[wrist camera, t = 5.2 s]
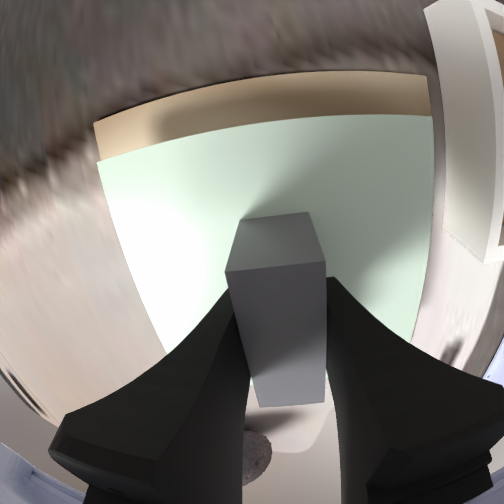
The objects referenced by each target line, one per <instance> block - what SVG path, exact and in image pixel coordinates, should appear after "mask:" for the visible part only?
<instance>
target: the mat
mask: <svg viewBox="0 0 504 504" xmlns="http://www.w3.org/2000/svg"><path fill="white" fill-rule="evenodd" d="M366 114H389V115H418V116H431V108H430V99H429V91H428V84H427V78H426V76H423V75H415V74H405V73H393V72H375V71H323V72H305V73H293V74H282V75H273V76H265V77H258V78H251V79H245V80H239V81H233V82H228V83H223V84H218V85H213V86H208V87H204V88H200V89H195V90H191V91H187V92H183V93H180V94H176V95H172V96H169V97H165V98H162V99H159V100H155V101H152V102H149V103H146V104H143V105H140V106H137V107H134V108H131V109H128V110H125V111H123V112H120V113H117V114H115V115H112V116H110V117H107V118H104V119H102V120H100V121H97V122H95V123H94V129H95V134H96V139H97V144H98V148H99V153H100V157H101V161H102V160H105V159H108V158H111V157H114V156H117V155H120V154H123V153H126V152H130V151H133V150H136V149H140V148H143V147H147V146H150V145H154V144H158V143H162V142H166V141H170V140H174V139H178V138H182V137H186V136H191V135H195V134H200V133H205V132H209V131H214V130H220V129H225V128H231V127H236V126H243V125H249V124H255V123H262V122H270V121H278V120H287V119H296V118H307V117H320V116H336V115H366ZM423 285H424V284H423ZM419 305H420V304H419ZM418 310H419V309H418ZM417 314H418V313H417ZM416 319H417V317H416ZM415 323H416V322H415ZM414 327H415V326H414ZM413 331H414V330H413ZM412 335H413V333H412ZM411 339H412V337H411ZM410 342H411V341H410Z"/></svg>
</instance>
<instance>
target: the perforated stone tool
mask: <svg viewBox="0 0 504 504" xmlns="http://www.w3.org/2000/svg"><path fill="white" fill-rule="evenodd" d="M271 455H272V448H271V443H270V441H269V440H268V439H267V438H266V436H263V435H262V434H260V433H258V432H255V431H248V430H244V440H243V470H242V486H244V485H247V484H248V483H250V482H252V481H254V480H255V479H256V478H258V477H259V476H260V475H261V474H262V473H263V472H264V471H265V470H266V468H267V466H268V465H269V463H270V461H271Z"/></svg>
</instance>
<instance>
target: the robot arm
mask: <svg viewBox="0 0 504 504" xmlns="http://www.w3.org/2000/svg"><path fill="white" fill-rule="evenodd" d="M326 288H327V347H326V371H327V375H328V379H329V383H330V388H331V392H332V396H333V400H334V405H335V411H336V419H337V429H338V440H339V452H340V468H341V502H342V503H341V504H504V467H502V468H501V469H499V470H497V471H496V472H494V473H492V474H490V472H489V469H488V466H487V465H488V464H489V463H490V462H491V461H492V457H491V454H490V451H489V450H490V449H491V448H492V447H493V446H494V445H495V444H496V443H497V442H498V441H499V440H500V439H501V438H502V437H503V436H504V338H503V340H502V342H501V344H500V346H499V348H498V350H497V352H496V354H495V356H494V358H493V360H492V362H491V364H490V366H489V367H488V369H487V371H486V373H485V374H484V376H483V378H479V377H476V376H473V375H471V374H468V373H466V372H463V371H461V370H459V369H456V368H454V367H452V366H450V365H448V364H446V363H444V362H442V361H440V360H438V359H436V358H434V357H432V356H430V355H429V354H427V353H425V352H423V351H421V350H420V349H418V348H416V347H415V346H413V345H412V344H410V343H409V342H407V341H406V340H404V339H403V338H401V337H400V336H398V335H397V334H396V333H394V332H393V331H391V330H390V329H389V328H388V327H386V326H385V325H384V324H383V323H382V322H380V321H379V320H378V319H377V318H376V317H375V316H373V315H372V314H371V313H370V312H369V311H368V310H367V309H366V308H365V307H364V306H363V305H362V304H361V303H360V302H358V301H357V300H356V299H355V298H354V297H353V295H352V294H351V293H350V292H349V291H348V290H347V289H346V288H345V287H344V286H343V285H342V284H341V283H340V282H339V281H338V279H337V278H335V277H334V276H333V277H326ZM250 380H251V374H250V371H249V367H248V363H247V360H246V356H245V352H244V348H243V344H242V341H241V337H240V333H239V329H238V325H237V321H236V317H235V313H234V309H233V305H232V301H231V297H230V293H229V289H228V288H227V289H226V291H225V292H224V293H223V294H222V295H221V297H220V298H219V299H218V300H217V302H216V303H215V304H214V305H213V307H212V308H211V309H210V310H209V312H208V313H207V314H206V315H205V316H204V318H203V319H202V320H201V321H200V322H199V323H198V325H197V326H196V327H195V328H194V329H193V330H192V331H191V332H190V333H189V334H188V335H187V336H186V337H185V338H184V339H183V340H182V342H181V343H179V344H178V345H177V346H176V347H175V348H174V349H173V350H172V351H171V352H170V353H169V354H167V355H166V356H165V357H164V358H163V359H162V360H160V361H159V362H158V363H157V364H155V365H154V366H153V367H151V368H150V369H149V370H147V371H146V372H144V373H143V374H142V375H140V376H139V377H137V378H136V379H134V380H133V381H132V382H130V383H129V384H127V385H125V386H124V387H122V388H120V389H119V390H117V391H115V392H113V393H112V394H110V395H108V396H106V397H104V398H102V399H100V400H98V401H96V402H94V403H92V404H89V405H87V406H85V407H83V408H80V409H78V410H76V411H73V412H71V413H68V414H66V415H65V417H64V419H63V421H62V422H61V424H60V426H59V429H58V430H57V432H56V435H55V437H54V439H53V441H52V443H51V445H50V447H49V449H48V452H49V454H50V456H51V458H52V459H53V460H54V461H56V462H57V463H58V464H59V465H61V466H62V467H64V468H65V469H66V470H68V471H69V472H71V473H72V474H73V475H75V476H77V477H78V478H79V479H81V480H82V481H84V482H86V483H87V484H89V487H88V489H87V492H86V494H85V493H83V492H81V491H79V490H77V489H74V488H72V487H70V486H68V485H66V484H64V483H62V482H60V481H59V480H56V479H55V478H53V477H51V476H49V475H47V474H46V473H44V472H42V471H40V470H39V469H37V468H35V467H34V466H33V465H32V464H31V463H30V462H28V461H27V460H26V459H24V458H23V457H22V456H20V455H19V454H18V453H16V452H15V451H13V450H12V449H10V448H9V447H7V446H6V445H5V444H3V443H0V504H242V470H243V440H244V420H245V411H246V405H247V398H248V392H249V386H250Z"/></svg>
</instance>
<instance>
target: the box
mask: <svg viewBox="0 0 504 504" xmlns="http://www.w3.org/2000/svg"><path fill="white" fill-rule="evenodd" d="M423 11H424V14H425V17H426V21H427V24H428V28H429V32H430V35H431V40H432V44H433V48H434V53H435V58H436V63H437V68H438V74H439V80H440V87H441V94H442V103H443V112H444V125H445V143H446V187H445V206H444V219H443V230H444V231H445V232H446V233H448V234H449V235H450V236H451V237H452V238H454V239H455V240H456V241H457V242H458V243H460V244H461V245H462V246H463V247H464V248H465V249H466V250H468V251H469V252H470V253H471V254H472V255H473V256H474V257H475V258H477V259H478V260H479V261H480V262H481V263H482V264H483V265H484V264H489V263H494V262H498V261H503V260H504V5H503V4H501V3H499V2H497V1H495V0H438V1H437V2H435V3H433V4H431V5H430V6H428V7H426V8H425V9H423Z"/></svg>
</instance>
